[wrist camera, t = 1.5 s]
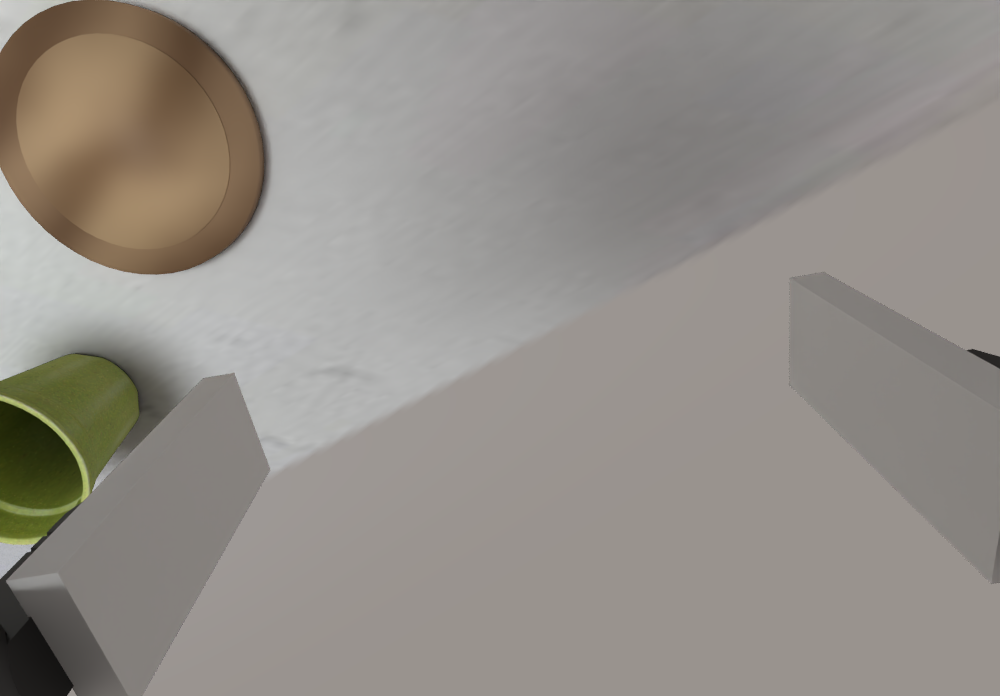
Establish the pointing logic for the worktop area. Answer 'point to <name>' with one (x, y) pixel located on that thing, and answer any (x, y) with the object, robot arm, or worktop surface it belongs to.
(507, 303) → the worktop surface
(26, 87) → the plate
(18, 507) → the plant pot
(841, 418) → the robot arm
